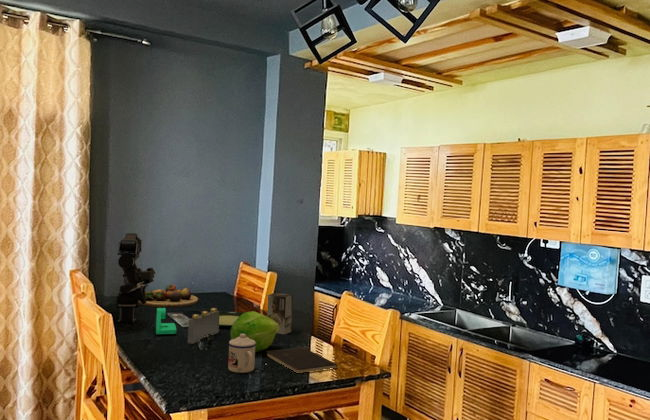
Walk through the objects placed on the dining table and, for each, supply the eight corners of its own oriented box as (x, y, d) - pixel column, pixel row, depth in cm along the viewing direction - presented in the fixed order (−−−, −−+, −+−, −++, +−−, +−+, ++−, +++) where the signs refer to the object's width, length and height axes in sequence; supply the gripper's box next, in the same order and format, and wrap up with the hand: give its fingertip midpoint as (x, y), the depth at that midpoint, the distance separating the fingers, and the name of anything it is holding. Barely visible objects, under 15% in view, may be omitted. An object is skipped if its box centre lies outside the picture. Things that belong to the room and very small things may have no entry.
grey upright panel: (193, 343, 211) (194, 316, 211) (187, 343, 212) (188, 315, 212) (218, 332, 230) (219, 307, 230) (213, 331, 231) (214, 307, 231)
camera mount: (176, 336, 222) (177, 310, 221) (156, 337, 219) (157, 311, 219) (174, 329, 233) (175, 304, 233) (155, 329, 230) (156, 305, 230)
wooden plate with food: (151, 295, 307) (152, 280, 307) (206, 299, 303) (207, 284, 303) (123, 305, 276) (124, 289, 276) (184, 310, 271) (184, 293, 271)
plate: (271, 321, 257) (271, 316, 257) (237, 333, 231) (237, 327, 231) (221, 313, 268) (221, 308, 268) (183, 324, 243) (184, 318, 243)
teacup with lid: (222, 366, 185) (224, 332, 185) (247, 363, 190) (249, 329, 190) (237, 377, 175) (239, 341, 175) (263, 373, 180) (265, 338, 180)
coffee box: (291, 332, 238) (293, 294, 238) (284, 335, 232) (286, 296, 232) (273, 328, 242) (275, 292, 241) (265, 331, 236) (267, 294, 236)
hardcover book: (296, 376, 181) (297, 369, 181) (265, 357, 200) (266, 351, 200) (337, 370, 189) (337, 363, 189) (303, 352, 209) (304, 346, 209)
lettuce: (287, 350, 209) (290, 319, 205) (240, 365, 198) (241, 332, 193) (268, 332, 220) (270, 302, 216) (222, 346, 209) (222, 314, 205)
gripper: (135, 264, 220) (151, 300, 219) (156, 258, 238) (171, 292, 238) (112, 275, 221) (127, 311, 221) (134, 268, 240) (148, 301, 239)
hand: (144, 303), depth 230 cm, fingers closed
